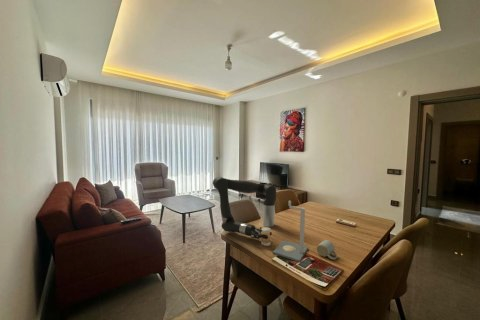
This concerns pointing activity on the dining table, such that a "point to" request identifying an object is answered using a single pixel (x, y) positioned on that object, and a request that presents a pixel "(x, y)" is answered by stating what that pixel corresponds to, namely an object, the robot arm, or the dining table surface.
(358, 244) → the dining table surface
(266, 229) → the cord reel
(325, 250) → the ceramic mug
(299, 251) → the stand
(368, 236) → the dining table surface
